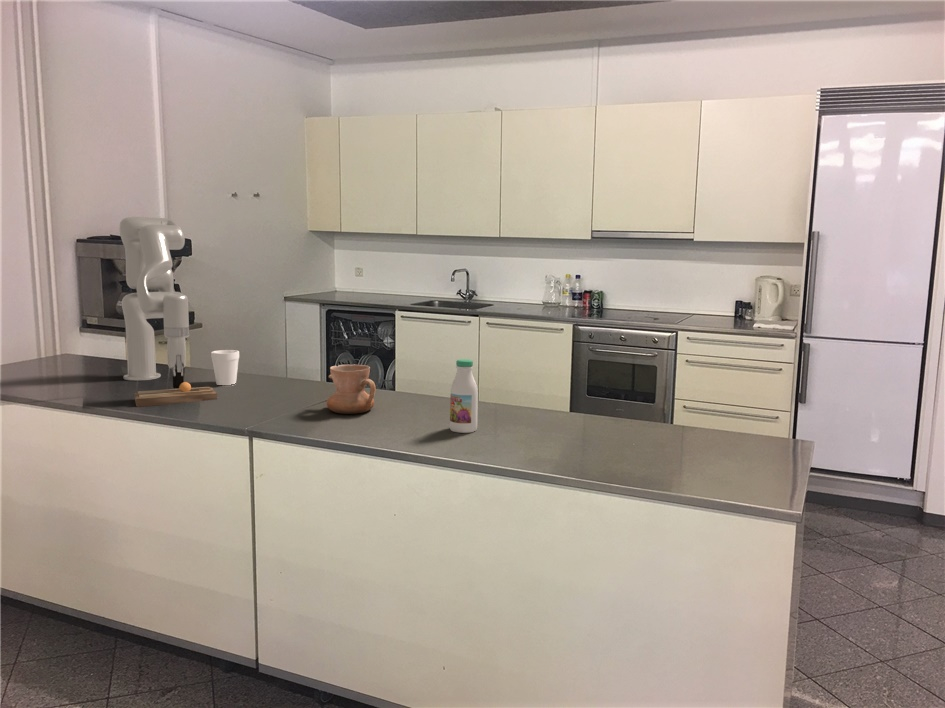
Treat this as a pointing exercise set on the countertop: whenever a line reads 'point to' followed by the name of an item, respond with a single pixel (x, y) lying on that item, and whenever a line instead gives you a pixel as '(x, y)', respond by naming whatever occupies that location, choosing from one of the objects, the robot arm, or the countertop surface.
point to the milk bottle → (464, 399)
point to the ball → (185, 387)
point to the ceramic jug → (351, 389)
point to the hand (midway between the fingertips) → (178, 387)
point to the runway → (173, 396)
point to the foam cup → (225, 366)
